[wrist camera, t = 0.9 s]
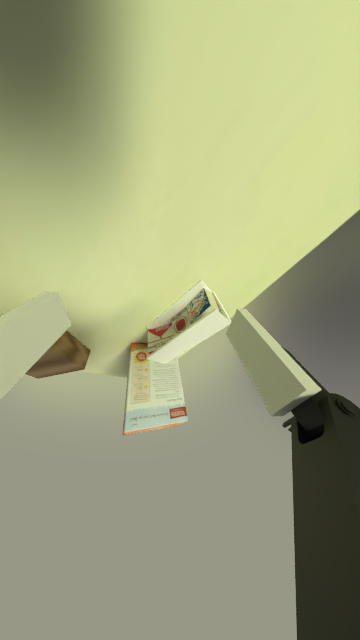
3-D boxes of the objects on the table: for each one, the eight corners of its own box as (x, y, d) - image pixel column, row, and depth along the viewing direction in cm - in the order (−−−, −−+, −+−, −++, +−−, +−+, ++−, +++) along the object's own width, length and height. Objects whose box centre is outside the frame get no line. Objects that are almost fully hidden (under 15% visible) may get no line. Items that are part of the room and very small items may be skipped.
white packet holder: (201, 278, 27) (216, 309, 21) (215, 293, 31) (232, 322, 25) (143, 329, 36) (143, 361, 30) (159, 335, 39) (161, 366, 33)
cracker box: (129, 352, 43) (121, 436, 29) (131, 341, 39) (122, 433, 25) (170, 353, 48) (179, 426, 34) (175, 344, 44) (188, 422, 30)
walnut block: (4, 333, 30) (-18, 357, 26) (59, 323, 30) (45, 346, 26) (49, 357, 39) (37, 378, 35) (90, 349, 39) (84, 369, 35)
